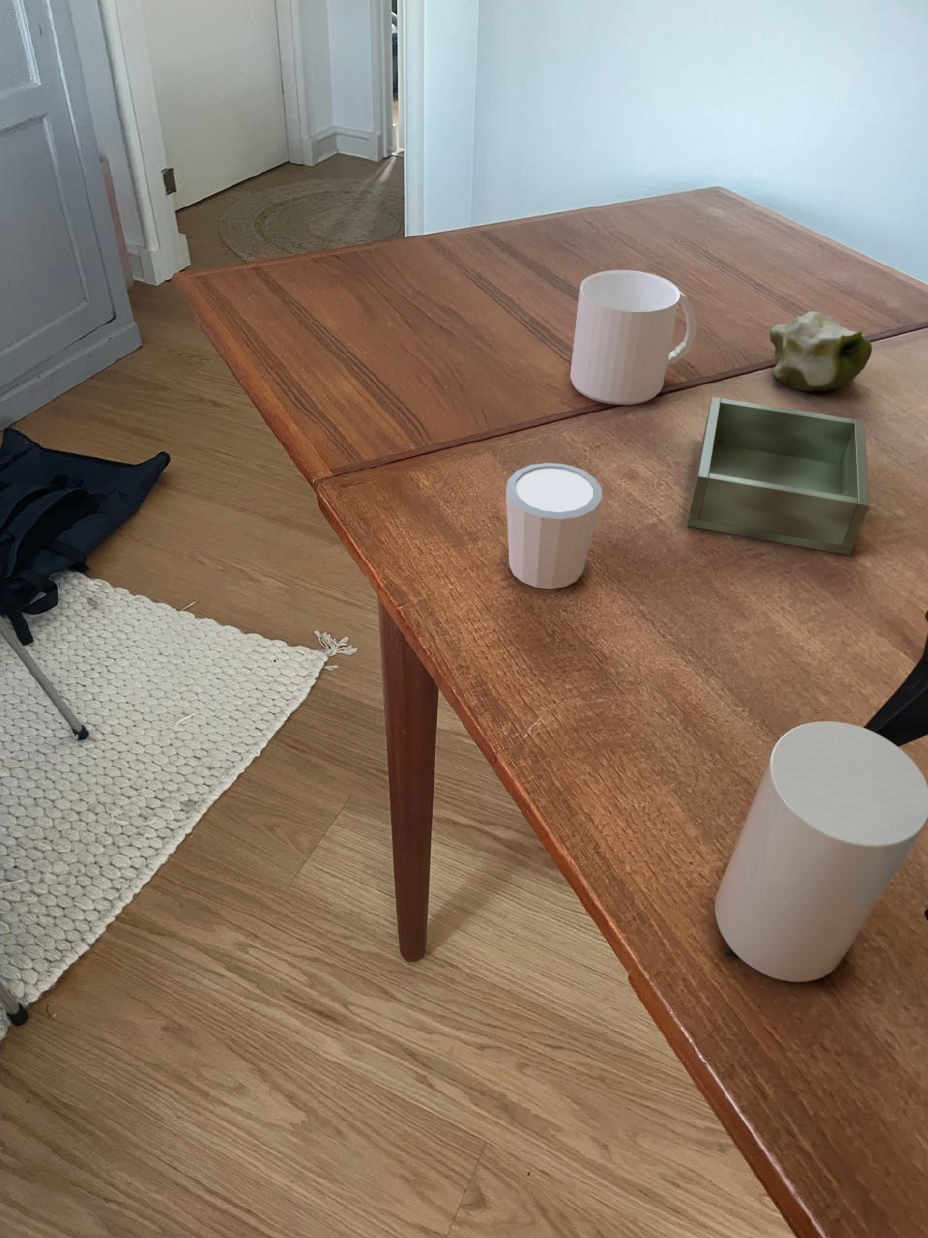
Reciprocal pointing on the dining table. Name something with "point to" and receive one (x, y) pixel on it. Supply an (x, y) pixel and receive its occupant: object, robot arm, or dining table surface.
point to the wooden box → (781, 476)
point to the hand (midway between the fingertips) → (887, 829)
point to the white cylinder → (818, 848)
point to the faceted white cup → (550, 523)
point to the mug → (627, 335)
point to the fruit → (817, 353)
